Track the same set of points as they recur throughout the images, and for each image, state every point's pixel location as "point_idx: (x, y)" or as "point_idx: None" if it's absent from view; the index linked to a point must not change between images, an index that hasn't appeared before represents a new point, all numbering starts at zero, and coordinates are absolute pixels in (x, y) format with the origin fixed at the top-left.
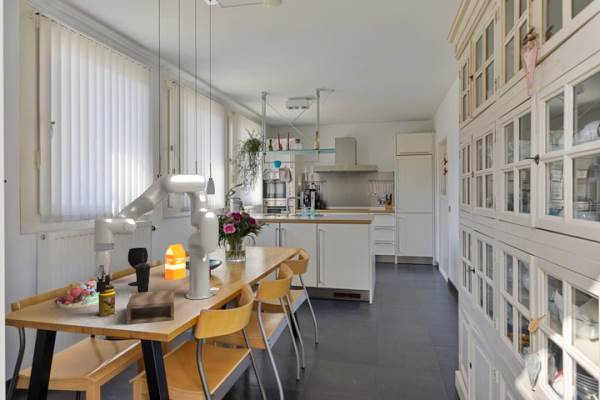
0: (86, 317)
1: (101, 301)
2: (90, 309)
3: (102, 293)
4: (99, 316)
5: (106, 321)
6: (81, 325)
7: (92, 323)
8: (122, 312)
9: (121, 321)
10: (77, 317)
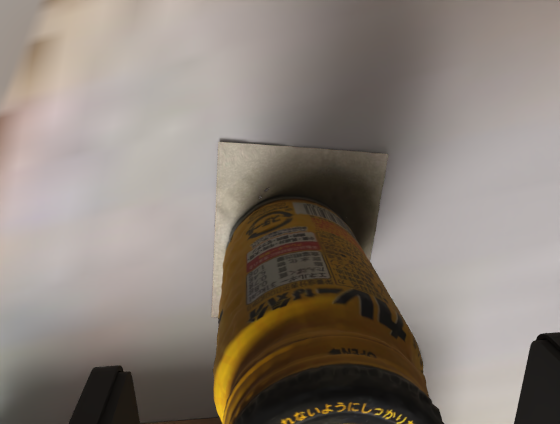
0: (265, 95)
1: (229, 299)
2: (537, 68)
3: (239, 372)
4: (252, 208)
5: (98, 289)
6: (16, 111)
7: (62, 193)
8: None
9: (77, 390)
10: (292, 3)
